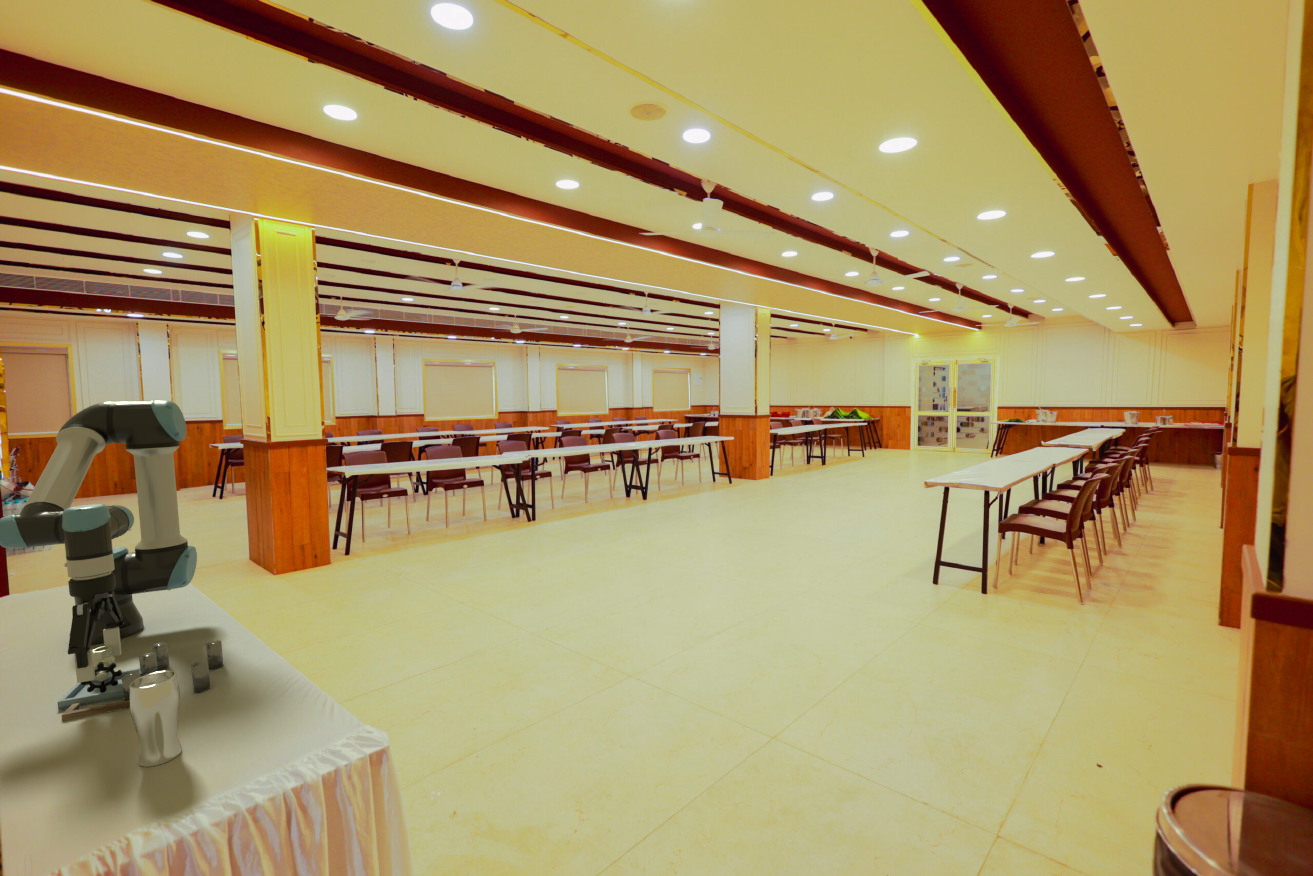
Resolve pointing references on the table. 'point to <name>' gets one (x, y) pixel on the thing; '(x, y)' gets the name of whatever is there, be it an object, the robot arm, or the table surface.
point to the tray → (93, 693)
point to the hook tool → (93, 709)
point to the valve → (103, 669)
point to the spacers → (160, 662)
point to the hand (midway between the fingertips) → (100, 668)
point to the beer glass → (156, 716)
